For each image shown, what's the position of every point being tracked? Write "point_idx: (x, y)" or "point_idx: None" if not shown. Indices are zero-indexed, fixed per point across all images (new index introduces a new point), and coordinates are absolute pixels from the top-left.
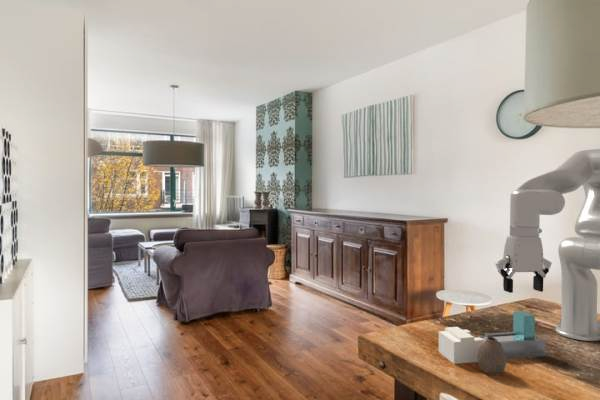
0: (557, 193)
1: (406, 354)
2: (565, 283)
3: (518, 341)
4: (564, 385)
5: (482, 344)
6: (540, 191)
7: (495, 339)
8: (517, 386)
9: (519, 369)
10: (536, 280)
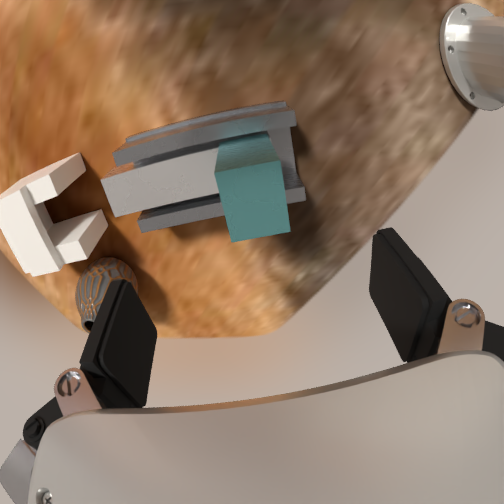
0: None
1: None
2: None
3: (203, 216)
4: (240, 315)
5: (78, 309)
6: None
7: None
8: (151, 319)
9: (179, 261)
10: (402, 313)
